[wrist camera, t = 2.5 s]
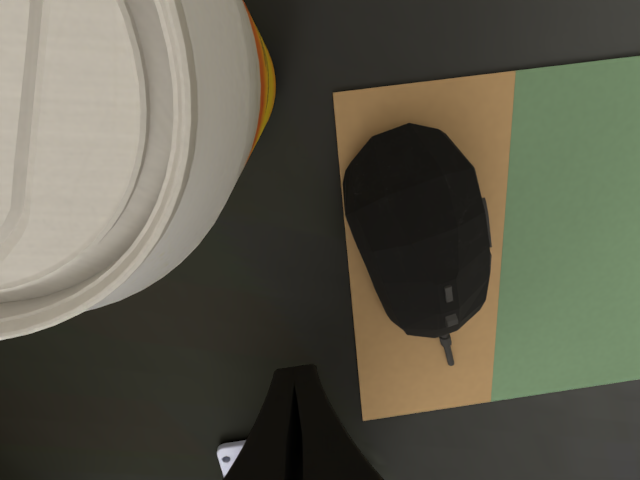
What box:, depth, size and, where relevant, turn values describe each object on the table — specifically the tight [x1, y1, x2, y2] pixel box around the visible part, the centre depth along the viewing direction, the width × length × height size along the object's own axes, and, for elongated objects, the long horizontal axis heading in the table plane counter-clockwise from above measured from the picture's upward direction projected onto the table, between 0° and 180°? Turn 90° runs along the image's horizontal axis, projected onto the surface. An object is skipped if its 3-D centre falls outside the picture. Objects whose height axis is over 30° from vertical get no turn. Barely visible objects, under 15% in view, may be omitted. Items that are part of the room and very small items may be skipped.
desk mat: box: [333, 56, 640, 421], centre depth 22 cm, size 20×19×1 cm
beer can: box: [0, 0, 276, 340], centre depth 10 cm, size 6×6×15 cm
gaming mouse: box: [343, 123, 492, 366], centre depth 19 cm, size 6×15×4 cm, turn 20°
